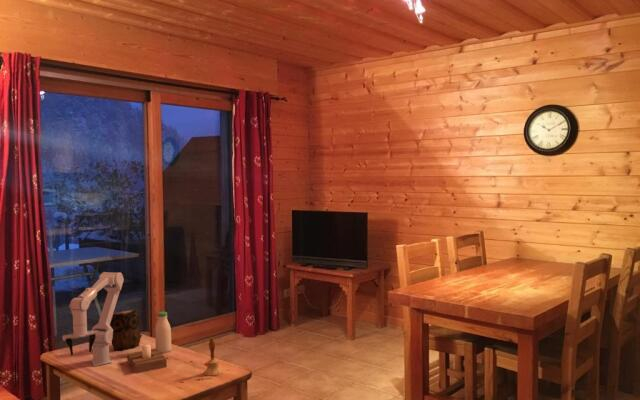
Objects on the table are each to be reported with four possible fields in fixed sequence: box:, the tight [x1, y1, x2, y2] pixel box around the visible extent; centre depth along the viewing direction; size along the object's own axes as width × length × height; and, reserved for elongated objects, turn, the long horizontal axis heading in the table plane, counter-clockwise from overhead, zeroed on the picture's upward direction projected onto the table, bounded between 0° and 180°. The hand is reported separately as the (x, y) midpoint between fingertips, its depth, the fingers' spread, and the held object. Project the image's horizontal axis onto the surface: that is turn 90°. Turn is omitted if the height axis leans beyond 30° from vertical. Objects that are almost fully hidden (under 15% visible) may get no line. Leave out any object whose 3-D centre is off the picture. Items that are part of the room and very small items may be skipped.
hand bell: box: [203, 337, 223, 377], centre depth 238 cm, size 8×8×16 cm
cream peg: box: [141, 344, 152, 359], centre depth 250 cm, size 4×4×9 cm
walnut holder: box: [127, 347, 168, 374], centre depth 250 cm, size 18×14×4 cm
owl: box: [110, 309, 142, 352], centre depth 275 cm, size 13×13×20 cm
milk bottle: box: [154, 311, 172, 354], centre depth 269 cm, size 8×8×20 cm
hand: (81, 353), depth 240 cm, fingers open, 7 cm apart
